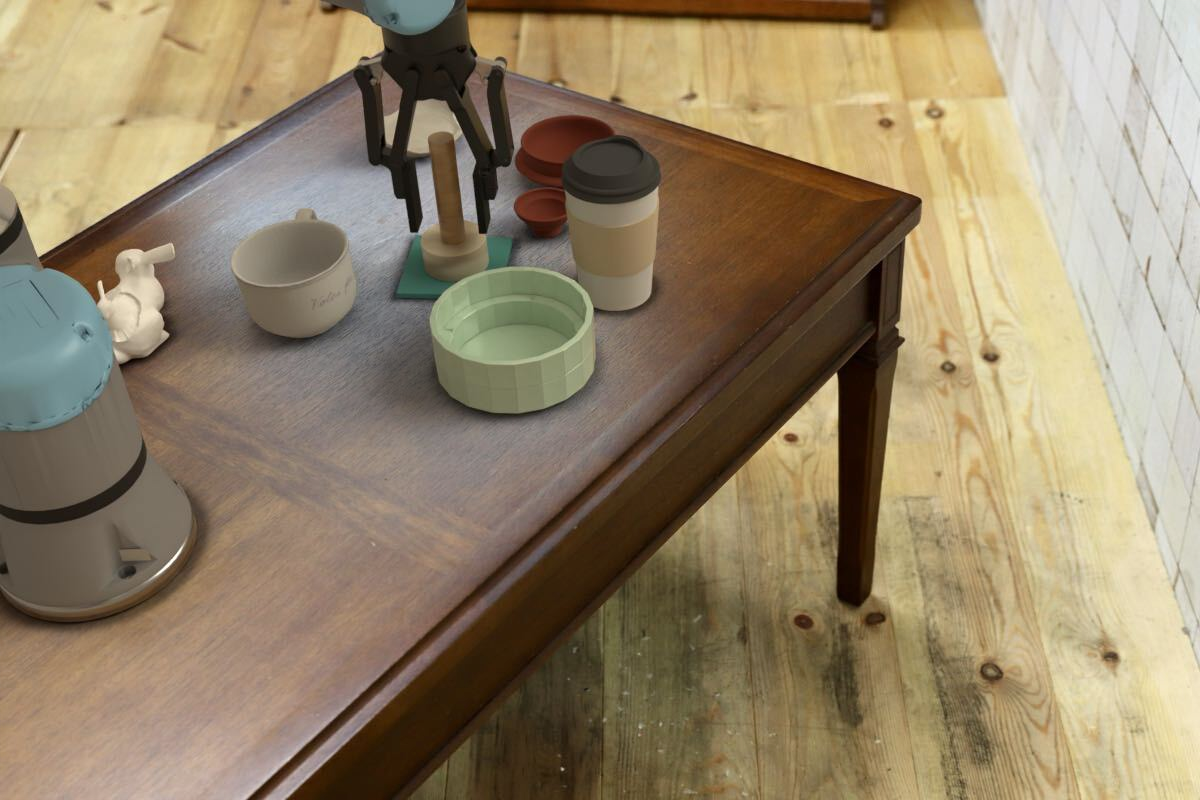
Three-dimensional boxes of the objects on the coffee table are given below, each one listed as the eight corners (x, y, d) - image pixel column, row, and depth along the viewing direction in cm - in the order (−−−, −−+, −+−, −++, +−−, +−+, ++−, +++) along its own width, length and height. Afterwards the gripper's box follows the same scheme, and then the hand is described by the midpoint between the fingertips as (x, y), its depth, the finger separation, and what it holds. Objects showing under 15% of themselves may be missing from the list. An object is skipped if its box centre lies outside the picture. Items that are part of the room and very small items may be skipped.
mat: (396, 298, 133) (395, 293, 132) (415, 240, 140) (415, 235, 140) (499, 300, 132) (498, 295, 131) (513, 241, 139) (512, 236, 139)
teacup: (339, 359, 126) (324, 287, 121) (228, 347, 128) (209, 277, 122) (387, 272, 136) (375, 202, 131) (284, 262, 138) (268, 194, 133)
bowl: (424, 416, 119) (415, 362, 115) (451, 317, 130) (444, 265, 126) (587, 421, 118) (584, 366, 114) (601, 320, 129) (599, 267, 125)
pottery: (633, 150, 152) (632, 114, 149) (596, 251, 137) (594, 214, 134) (530, 143, 154) (528, 107, 151) (483, 242, 139) (479, 205, 137)
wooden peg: (419, 282, 134) (400, 155, 124) (429, 244, 138) (411, 120, 129) (484, 282, 133) (470, 155, 124) (492, 244, 138) (479, 120, 129)
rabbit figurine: (146, 294, 135) (120, 210, 128) (216, 304, 133) (193, 219, 127) (81, 370, 126) (49, 283, 120) (155, 381, 124) (127, 294, 118)
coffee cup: (639, 327, 128) (636, 187, 118) (552, 305, 131) (541, 168, 121) (677, 274, 134) (676, 138, 124) (592, 255, 137) (585, 120, 127)
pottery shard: (377, 175, 150) (370, 135, 147) (361, 129, 158) (354, 89, 155) (470, 158, 152) (465, 117, 149) (449, 113, 160) (444, 73, 157)
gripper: (302, 16, 116) (345, 245, 131) (525, 16, 114) (543, 249, 129) (323, -21, 121) (362, 203, 136) (536, -22, 120) (552, 205, 135)
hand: (450, 225), depth 133 cm, fingers open, 6 cm apart
